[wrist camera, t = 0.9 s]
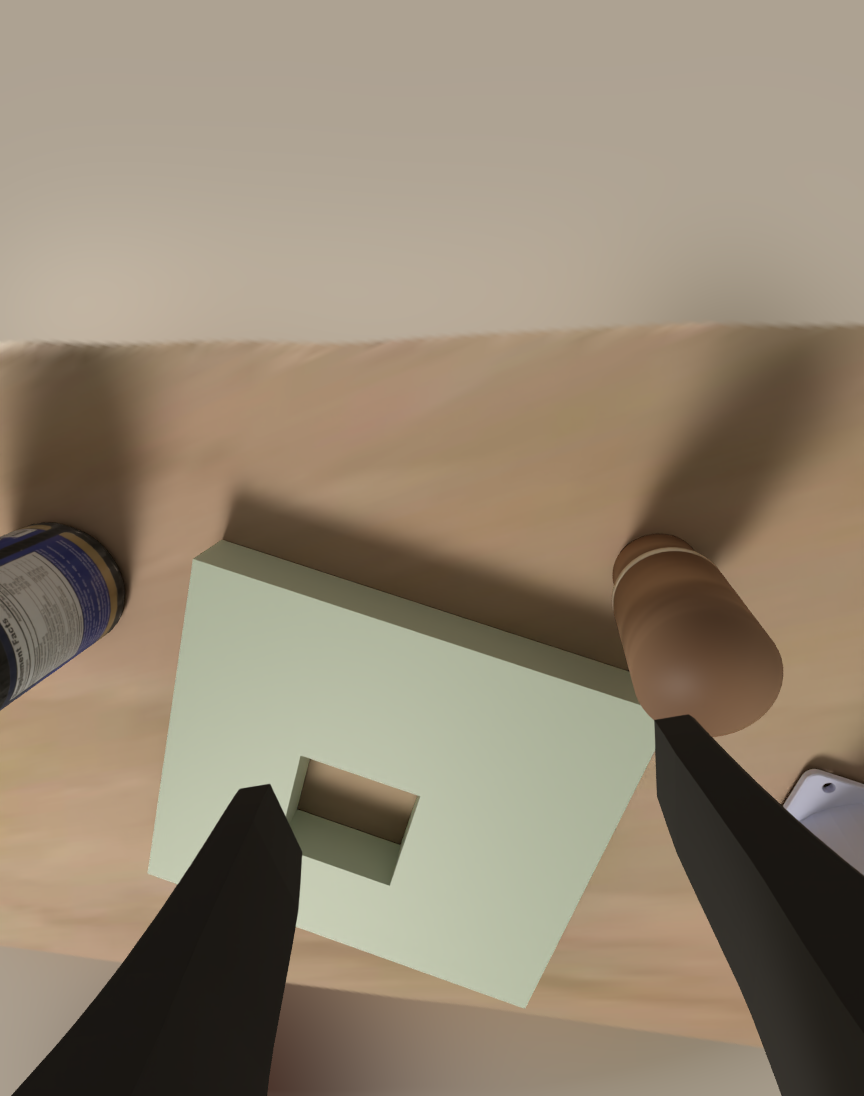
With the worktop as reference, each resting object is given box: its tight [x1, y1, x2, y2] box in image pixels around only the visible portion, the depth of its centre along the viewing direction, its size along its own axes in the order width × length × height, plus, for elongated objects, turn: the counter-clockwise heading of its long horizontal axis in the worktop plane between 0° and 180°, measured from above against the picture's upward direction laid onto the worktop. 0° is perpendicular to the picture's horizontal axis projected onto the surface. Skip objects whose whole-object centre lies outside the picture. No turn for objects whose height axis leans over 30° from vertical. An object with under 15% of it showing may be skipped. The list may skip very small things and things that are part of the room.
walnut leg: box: [612, 534, 783, 737], centre depth 21 cm, size 4×4×8 cm
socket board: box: [148, 540, 655, 1009], centre depth 29 cm, size 20×18×2 cm
